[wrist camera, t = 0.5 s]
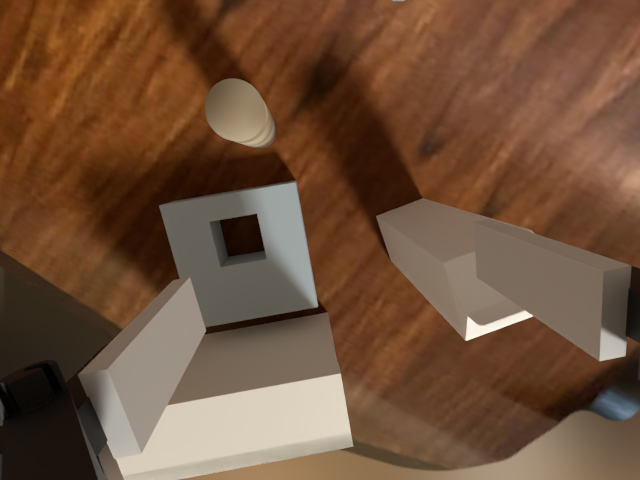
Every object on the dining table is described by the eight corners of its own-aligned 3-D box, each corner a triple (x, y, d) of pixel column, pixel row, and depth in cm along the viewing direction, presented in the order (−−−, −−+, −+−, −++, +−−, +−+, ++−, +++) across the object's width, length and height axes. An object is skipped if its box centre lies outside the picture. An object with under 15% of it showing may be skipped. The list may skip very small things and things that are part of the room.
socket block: (173, 201, 37) (158, 205, 33) (296, 180, 38) (295, 182, 34) (204, 313, 41) (194, 329, 37) (316, 293, 41) (318, 307, 37)
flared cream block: (191, 299, 40) (100, 417, 22) (321, 276, 40) (340, 373, 22) (204, 343, 41) (127, 489, 23) (329, 320, 42) (353, 446, 23)
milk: (375, 215, 39) (464, 278, 18) (423, 197, 39) (573, 238, 18) (390, 261, 41) (491, 371, 19) (437, 244, 40) (591, 335, 19)
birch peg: (236, 113, 36) (198, 83, 22) (273, 107, 36) (257, 73, 22) (244, 151, 36) (212, 145, 23) (280, 145, 37) (269, 135, 23)
